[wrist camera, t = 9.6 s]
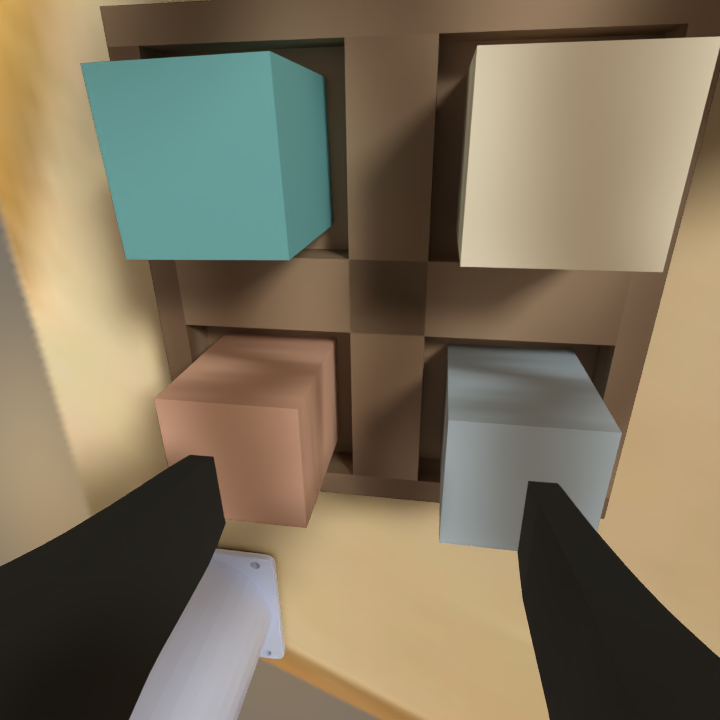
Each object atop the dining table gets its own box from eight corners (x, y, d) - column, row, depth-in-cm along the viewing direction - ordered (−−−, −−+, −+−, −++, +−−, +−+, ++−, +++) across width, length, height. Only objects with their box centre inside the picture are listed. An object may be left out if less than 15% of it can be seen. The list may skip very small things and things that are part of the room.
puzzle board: (215, 445, 24) (139, 548, 18) (146, 23, 16) (-18, -37, 11) (587, 477, 21) (641, 609, 15) (697, -3, 14) (878, -101, 8)
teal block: (213, 224, 18) (126, 259, 13) (192, 84, 16) (80, 63, 11) (333, 223, 17) (288, 260, 12) (325, 77, 15) (269, 51, 10)
